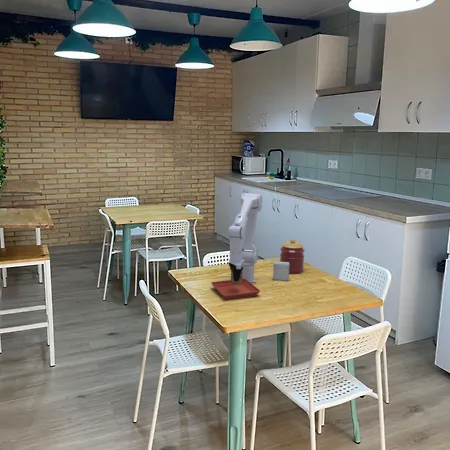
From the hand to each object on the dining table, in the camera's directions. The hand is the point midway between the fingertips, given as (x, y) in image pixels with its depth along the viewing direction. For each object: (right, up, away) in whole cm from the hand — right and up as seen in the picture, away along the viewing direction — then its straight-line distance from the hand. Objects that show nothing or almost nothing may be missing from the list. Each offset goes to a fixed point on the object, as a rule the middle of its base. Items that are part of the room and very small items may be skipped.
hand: (235, 279), depth 210 cm
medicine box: (+24, -3, +21) cm, 32 cm away
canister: (+31, 0, +36) cm, 48 cm away
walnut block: (0, -2, 0) cm, 2 cm away
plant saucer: (0, -7, +1) cm, 7 cm away
